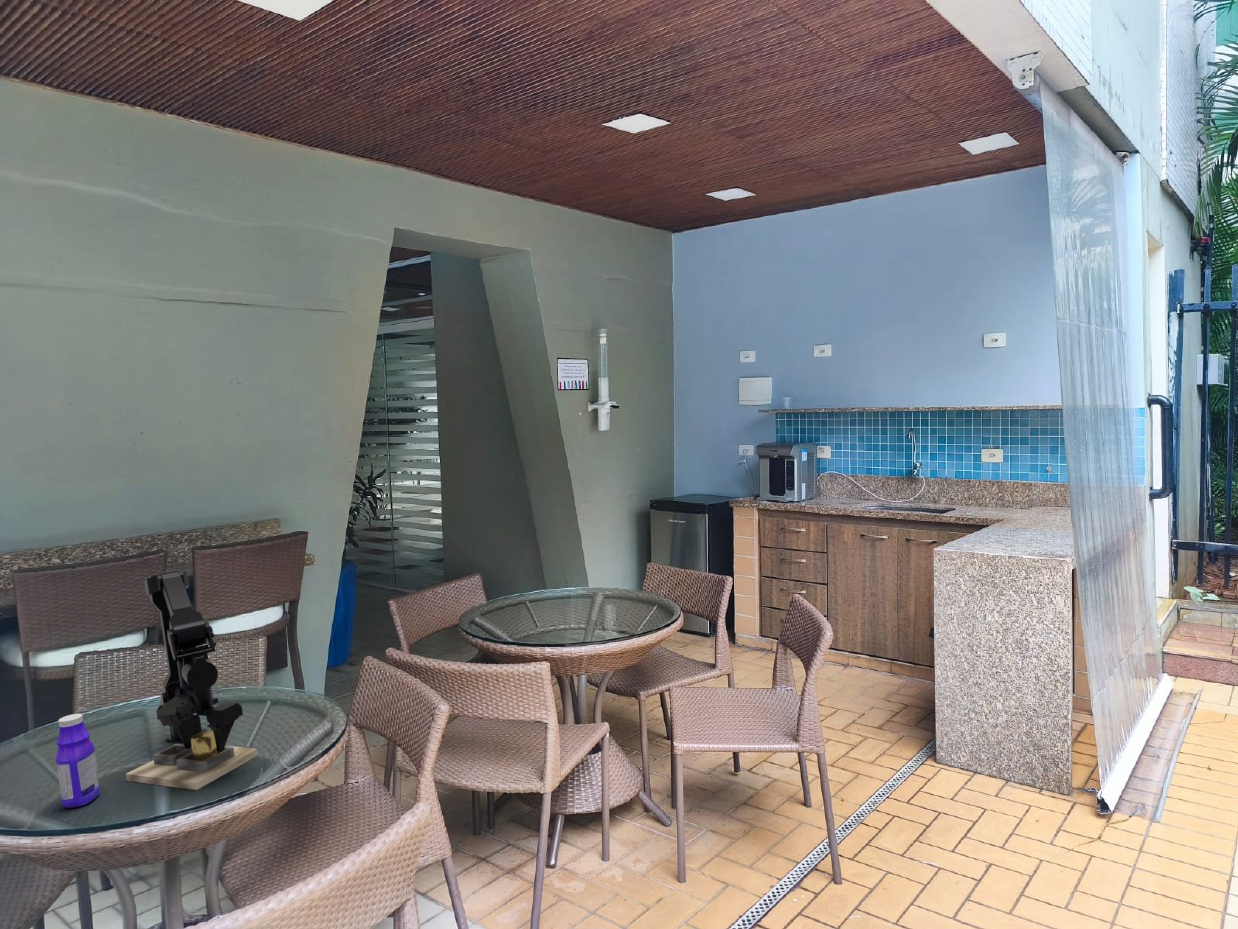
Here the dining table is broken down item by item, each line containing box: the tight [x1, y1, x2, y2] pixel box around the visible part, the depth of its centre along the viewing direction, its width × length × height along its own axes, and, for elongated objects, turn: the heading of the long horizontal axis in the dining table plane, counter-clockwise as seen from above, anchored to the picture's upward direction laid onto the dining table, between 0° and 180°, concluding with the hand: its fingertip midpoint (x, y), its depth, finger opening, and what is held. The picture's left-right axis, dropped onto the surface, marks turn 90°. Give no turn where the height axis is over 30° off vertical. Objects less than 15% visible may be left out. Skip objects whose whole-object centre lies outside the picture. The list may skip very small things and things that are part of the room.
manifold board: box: [125, 743, 258, 791], centre depth 179 cm, size 20×16×4 cm
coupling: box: [191, 730, 217, 761], centre depth 177 cm, size 5×5×6 cm
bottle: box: [55, 713, 101, 809], centre depth 167 cm, size 7×6×17 cm
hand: (204, 750), depth 177 cm, fingers open, 9 cm apart
